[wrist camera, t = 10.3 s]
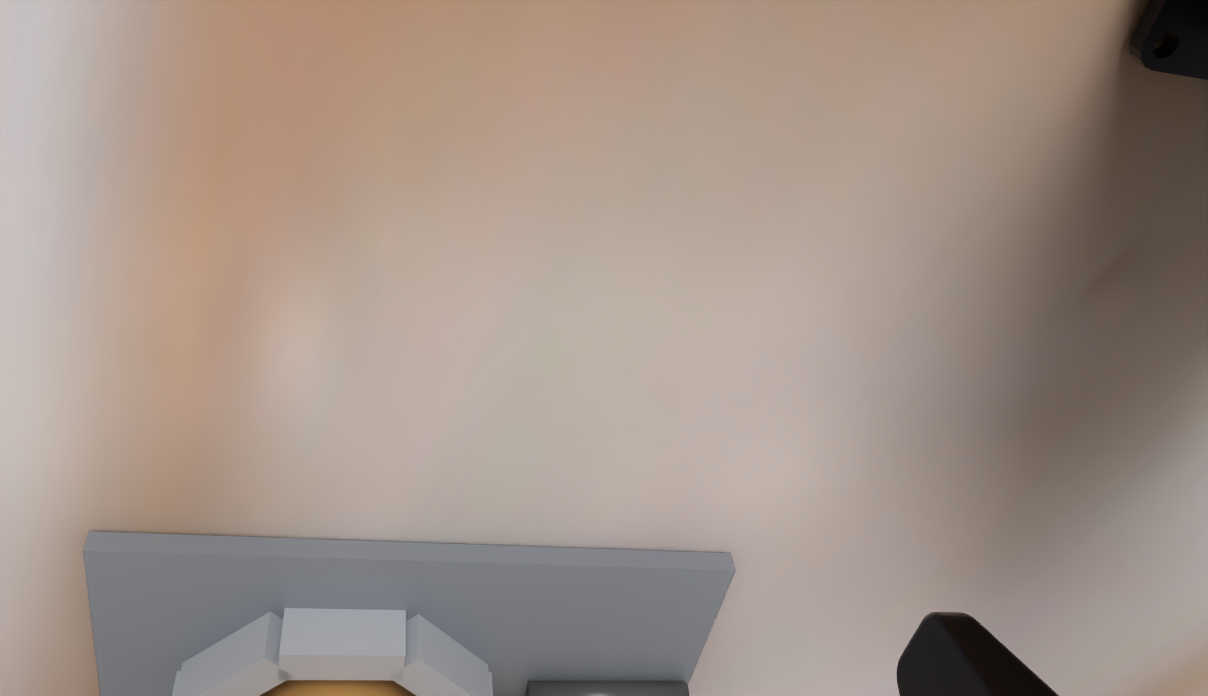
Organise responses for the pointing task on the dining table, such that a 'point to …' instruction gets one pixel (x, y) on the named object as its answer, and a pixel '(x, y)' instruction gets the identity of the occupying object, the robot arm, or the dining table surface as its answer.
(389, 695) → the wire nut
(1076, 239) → the dining table surface
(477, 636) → the junction socket
